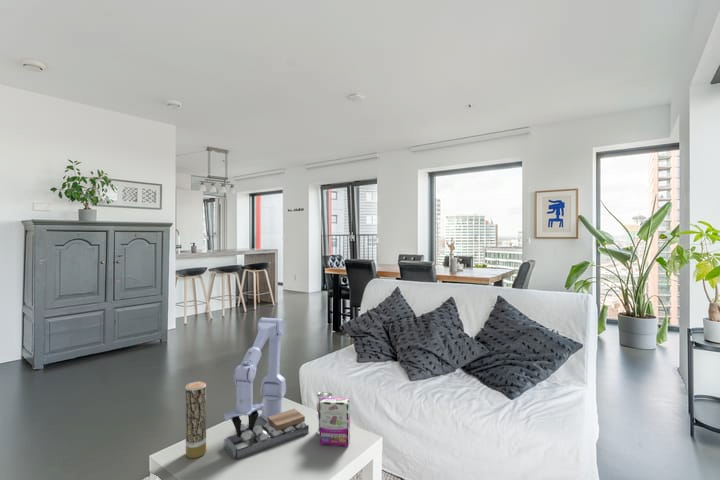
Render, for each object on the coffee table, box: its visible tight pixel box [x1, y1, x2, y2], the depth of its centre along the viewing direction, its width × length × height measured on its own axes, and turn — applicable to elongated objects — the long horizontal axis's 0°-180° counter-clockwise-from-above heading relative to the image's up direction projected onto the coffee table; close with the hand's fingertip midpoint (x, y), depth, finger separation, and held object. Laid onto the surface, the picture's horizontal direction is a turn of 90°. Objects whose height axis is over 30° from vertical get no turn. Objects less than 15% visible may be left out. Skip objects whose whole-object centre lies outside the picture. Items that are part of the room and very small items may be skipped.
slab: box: [268, 408, 306, 431], centre depth 150 cm, size 9×12×2 cm
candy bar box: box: [319, 397, 351, 447], centre depth 143 cm, size 11×5×16 cm, turn 83°
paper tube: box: [185, 381, 207, 459], centre depth 135 cm, size 7×7×25 cm
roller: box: [240, 423, 255, 444], centre depth 139 cm, size 8×4×4 cm, turn 39°
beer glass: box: [315, 391, 334, 436], centre depth 150 cm, size 7×7×15 cm
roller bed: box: [223, 421, 310, 460], centre depth 145 cm, size 11×30×4 cm, turn 128°
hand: (244, 433), depth 139 cm, fingers closed on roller, 4 cm apart
